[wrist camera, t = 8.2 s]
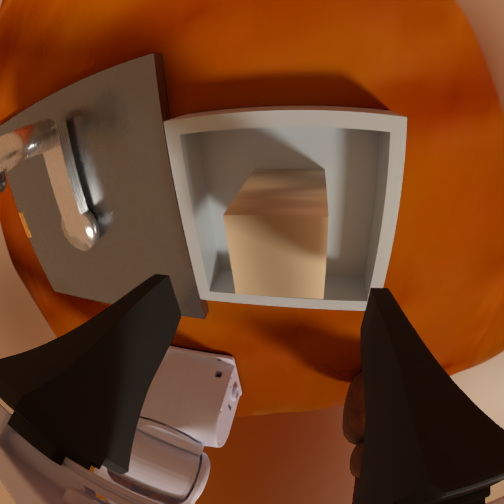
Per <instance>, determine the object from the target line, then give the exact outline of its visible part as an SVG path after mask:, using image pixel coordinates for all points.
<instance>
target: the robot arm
mask: <svg viewBox="0 0 504 504" xmlns="http://www.w3.org/2000/svg"><path fill="white" fill-rule="evenodd" d="M181 315H182V314H181V311H180V308H179V305H178V302H177V299H176V296H175V292H174V289H173V286H172V283H171V280H170V276H169V275H162V274H155V275H153V276H151V277H150V278H148V279H147V280H145V281H144V282H142V283H141V284H140V285H138V286H137V287H135V288H134V289H133V290H131V291H130V292H129V293H127V294H126V295H124V296H123V297H122V298H120V299H119V300H118V301H116V302H115V303H113V304H112V305H111V306H109V307H108V308H106V309H105V310H103V311H102V312H100V313H99V314H98V315H96V316H95V317H93V318H92V319H90V320H89V321H87V322H85V323H84V324H82V325H81V326H79V327H77V328H75V329H74V330H72V331H70V332H68V333H67V334H65V335H63V336H61V337H59V338H56V339H55V340H52V341H50V342H48V343H46V344H44V345H41V346H39V347H37V348H34V349H31V350H29V351H26V352H23V353H20V354H16V355H13V356H9V357H6V358H2V359H0V398H1V399H2V400H3V401H4V402H5V403H6V404H7V405H8V406H9V407H11V408H12V409H13V410H14V413H13V414H10V413H9V412H8V411H7V410H6V409H5V408H4V407H3V406H2V405H1V404H0V480H1V482H2V483H3V485H4V486H5V488H6V489H7V491H8V492H9V494H10V495H11V497H12V498H13V500H14V501H15V502H16V504H195V502H196V500H197V499H198V498H199V496H200V495H201V493H202V491H203V489H204V487H205V485H206V482H207V479H208V475H209V471H210V461H209V459H208V456H207V454H206V453H203V452H202V451H203V447H204V446H211V447H222V446H223V445H224V444H225V442H226V440H227V437H228V435H229V432H230V428H231V424H232V421H233V418H234V414H235V411H236V407H237V404H238V400H239V397H240V396H241V394H242V390H241V386H240V382H239V377H238V373H237V369H236V364H235V360H234V358H233V357H231V356H227V355H220V354H213V353H207V352H201V351H195V350H190V349H184V348H179V347H174V346H170V344H171V342H172V340H173V338H174V335H175V333H176V330H177V327H178V324H179V321H180V318H181ZM361 364H362V374H363V385H364V398H365V433H364V445H363V454H362V462H361V469H360V475H359V481H358V487H357V491H356V496H355V500H354V504H504V496H503V497H500V498H498V499H496V500H494V501H491V502H489V503H485V498H486V497H488V496H489V495H490V486H492V485H494V484H496V483H498V482H500V481H502V480H504V429H502V428H501V427H500V426H499V425H497V424H496V423H495V422H494V421H493V420H491V419H490V418H489V417H488V416H487V415H486V414H485V413H484V412H483V411H482V410H480V409H479V408H478V407H477V406H476V405H475V404H474V403H473V402H472V401H471V400H470V398H469V397H468V396H467V395H466V394H465V393H464V392H463V391H462V390H461V389H460V388H459V387H458V386H457V385H456V384H455V383H454V382H453V380H452V379H451V378H450V377H449V375H448V374H447V373H446V372H445V370H444V369H443V368H442V367H441V366H440V364H439V363H438V362H437V360H436V359H435V358H434V356H433V355H432V354H431V352H430V351H429V350H428V348H427V347H426V345H425V344H424V342H423V341H422V340H421V338H420V337H419V335H418V334H417V332H416V331H415V329H414V328H413V326H412V325H411V323H410V322H409V320H408V319H407V317H406V316H405V314H404V312H403V311H402V309H401V308H400V306H399V305H398V303H397V301H396V300H395V298H394V297H393V295H392V294H391V292H390V291H389V289H388V288H370V293H369V297H368V302H367V306H366V310H365V314H364V318H363V322H362V326H361ZM91 465H92V466H93V467H95V470H94V473H93V472H91V471H89V469H90V467H91ZM121 477H122V478H121ZM123 478H124V479H123ZM125 479H126V480H125ZM127 480H128V481H127ZM129 481H131V482H133V483H131V482H129ZM134 483H135V484H134ZM136 484H137V485H136ZM138 485H140V486H138ZM141 486H142V487H141ZM143 487H145V488H147V489H145V488H143ZM148 489H149V490H148ZM150 490H152V491H150ZM153 491H154V492H153ZM95 492H96V493H98V494H100V495H102V496H103V497H105V498H107V499H108V501H109V502H107V501H104V500H102V499H100V498H97V497H96V493H95ZM155 492H157V493H155ZM158 493H159V494H158ZM160 494H162V495H160ZM164 495H165V496H164Z"/></svg>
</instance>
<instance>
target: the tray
mask: <svg viewBox="0 0 504 504" xmlns="http://www.w3.org/2000/svg"><path fill="white" fill-rule="evenodd" d="M164 128H165V135H166V141H167V147H168V152H169V158H170V164H171V169H172V175H173V180H174V185H175V190H176V195H177V200H178V205H179V210H180V215H181V220H182V224H183V229H184V233H185V238H186V242H187V246H188V251H189V255H190V259H191V263H192V268H193V272H194V276H195V280H196V284H197V288H198V292H199V295H200V299H203V300H212V301H222V302H232V303H243V304H255V305H267V306H281V307H296V308H312V309H332V310H357V311H365V310H366V306H367V302H368V297H369V293H370V288H383V285H384V281H385V277H386V273H387V268H388V264H389V259H390V255H391V250H392V245H393V240H394V234H395V229H396V223H397V217H398V210H399V203H400V196H401V189H402V180H403V171H404V160H405V148H406V131H407V117H405V116H403V115H400V114H398V113H395V112H393V111H389V110H379V109H369V108H357V107H340V106H264V107H247V108H234V109H223V110H214V111H205V112H197V113H190V114H186V115H182V116H179V117H176V118H173V119H170V120H167V121H164ZM254 169H325V176H326V188H327V200H328V215H329V221H328V243H327V260H326V274H325V287H324V298H323V299H312V298H293V297H275V296H260V295H245V294H236V292H235V286H234V280H233V274H232V268H231V262H230V256H229V250H228V244H227V237H226V231H225V225H224V218H223V215H224V213H225V211H226V210H227V208H228V207H229V205H230V204H231V202H232V201H233V199H234V198H235V197H236V195H237V194H238V192H239V191H240V189H241V188H242V186H243V185H244V183H245V182H246V180H247V179H248V177H249V176H250V174H251V173H252V172H253V170H254Z"/></svg>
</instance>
